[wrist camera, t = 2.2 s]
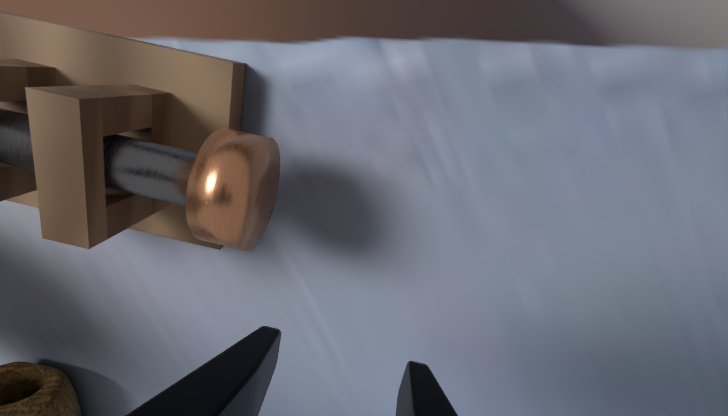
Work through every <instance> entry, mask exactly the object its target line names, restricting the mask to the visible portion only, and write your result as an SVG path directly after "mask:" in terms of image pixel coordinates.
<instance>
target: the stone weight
mask: <svg viewBox="0 0 728 416" xmlns="http://www.w3.org/2000/svg"><path fill="white" fill-rule="evenodd" d="M0 416H82V413H81V410H80V406H79V402H78V398H77V396H76V393H75V390H74V388H73V386H72V384H71V382H70V381H69V379H68V377H67V376H66V374H65V373H64V372H63V371H62V370H60V369H57V368H54V367H50V366H47V365H43V364H37V363H28V362H12V363H8V364H4V365H1V366H0Z"/></svg>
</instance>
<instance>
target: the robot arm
mask: <svg viewBox="0 0 728 416" xmlns="http://www.w3.org/2000/svg"><path fill="white" fill-rule="evenodd" d="M280 339H281V331H280V330H279V329H276V328H272V327H268V326H262V327H260V328H259V329H257V330H256V331H254V332H253V333H251V334H250V335H248V336H246V337H245V338H243V339H242V340H240V341H239V342H237V343H236V344H234V345H233V346H231V347H230V348H228V349H227V350H225V351H224V352H222V353H220V354H219V355H217V356H216V357H214V358H213V359H211V360H210V361H208V362H207V363H205V364H204V365H202V366H201V367H199V368H198V369H196V370H195V371H193V372H191V373H190V374H188V375H187V376H185V377H184V378H182V379H181V380H179V381H178V382H176V383H175V384H173V385H172V386H170V387H169V388H167V389H165V390H164V391H162V392H161V393H159V394H158V395H156V396H155V397H153V398H152V399H150V400H149V401H147V402H146V403H144V404H143V405H141V406H140V407H138V408H136V409H135V410H133V411H132V412H130V413H129V414H127V415H126V416H258V414H259V411H260V408H261V406H262V403H263V400H264V397H265V395H266V392H267V389H268V387H269V384H270V381H271V378H272V376H273V373H274V370H275V367H276V363H277V359H278V352H279V346H280ZM396 416H458V415H457V413H456V412H455V410H454V408H453V407H452V405H451V403H450V402H449V400H448V398H447V397H446V395H445V393H444V392H443V390H442V388H441V387H440V385H439V383H438V382H437V380H436V379H435V377H434V375H433V374H432V372H431V370H430V369H429V367H428V366H427V365H426V364H423V363H418V362H414V361H409V362H408V363H407V365H406V369H405V372H404V375H403V378H402V382H401V385H400V388H399V392H398V398H397V408H396Z"/></svg>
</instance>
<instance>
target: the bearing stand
mask: <svg viewBox="0 0 728 416" xmlns="http://www.w3.org/2000/svg"><path fill="white" fill-rule="evenodd" d="M245 70H246V64H245V63H240V62H236V61H231V60H226V59H222V58H217V57H212V56H208V55H203V54H198V53H194V52H189V51H185V50H180V49H175V48H171V47H166V46H161V45H157V44H152V43H147V42H143V41H138V40H133V39H129V38H124V37H120V36H115V35H110V34H105V33H100V32H96V31H92V30H87V29H82V28H78V27H73V26H68V25H64V24H59V23H54V22H50V21H45V20H41V19H36V18H31V17H26V16H22V15H17V14H13V13H8V12H3V11H0V108H2V109H6V110H11V111H15V112H20V113H24V114H28V117H29V126H30V134H31V143H32V151H33V160H34V168H35V171H32V170H28V169H24V168H19V167H15V166H10V165H6V164H2V163H0V201H3V200H8V201H12V202H16V203H20V204H25V205H29V206H33V207H38V208H39V211H40V220H41V229H42V237H43V238H44V239H48V240H53V241H57V242H61V243H65V244H70V245H74V246H78V247H83V248H87V249H90V248H92V247H94V246H96V245H97V244H99V243H101V242H103V241H105V240H107V239H108V238H110V237H112V236H114V235H116V234H118V233H120V232H121V231H123V230H125V229H127V228H129V229H133V230H137V231H142V232H146V233H150V234H154V235H159V236H163V237H167V238H172V239H176V240H180V241H185V242H189V243H193V244H198V245H202V246H206V247H211V248H215V249H219V250H220V249H221V248H222V247H223V246H224V245H220V244H215V243H211V242H207V241H202V240H199V239H197V238H195V237H194V236H193V235H192V233H191V231H190V229H189V227H188V224H187V219H186V205H181V204H177V203H172V202H168V201H164V200H159V199H155V198H151V197H146V196H142V195H137V194H133V193H129V192H124V191H120V190H116V189H111V188H107V187H105V175H104V155H103V137H104V136H109V135H114V134H118V135H123V136H127V137H131V138H136V139H140V140H145V141H149V142H154V143H158V144H163V145H167V146H172V147H176V148H181V149H185V150H190V151H194V152H199V150H200V148H201V146H202V145H203V143H204V142H205V140H206V139H207V138H208V137H209V136H210V135H211V134H212V133H213V132H214V131H216V130H218V129H220V128H229V129H233V130H238V131H241V119H242V107H243V94H244V82H245Z"/></svg>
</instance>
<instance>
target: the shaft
mask: <svg viewBox="0 0 728 416" xmlns="http://www.w3.org/2000/svg"><path fill="white" fill-rule="evenodd" d="M103 155H104V175H105V187H107V188H111V189H116V190H120V191H124V192H129V193H133V194H137V195H142V196H146V197H151V198H155V199H159V200H164V201H168V202H172V203H177V204H181V205H186V219H187V224H188V227H189V229H190V231H191V233H192V235H193V236H194V237H195V238H197V239H199V240H202V241H207V242H211V243H215V244H220V245H224V246H228V247H233V248H237V249H241V250H250V249H252V248H253V247H254V246H255V245H256V244H257V243H258V241H259V240H260V238H261V237H262V235H263V233H264V231H265V229H266V227H267V224H268V222H269V219H270V217H271V214H272V211H273V207H274V204H275V200H276V195H277V190H278V184H279V177H280V153H279V148H278V145H277V143H276V141H275V140H274V139H273V138H269V137H265V136H260V135H256V134H251V133H247V132H242V131H238V130H233V129H229V128H220V129H218V130H216V131H214V132H213V133H212V134H211V135H210V136H209V137H208V138H207V139H206V140H205V142H204V143H203V145H202V146H201V148H200V150H199V152H194V151H190V150H185V149H181V148H176V147H172V146H167V145H163V144H158V143H154V142H149V141H145V140H140V139H136V138H131V137H127V136H123V135H118V134H114V135H109V136H104V137H103ZM0 163H2V164H6V165H10V166H15V167H19V168H24V169H28V170H32V171H35V168H34V160H33V151H32V143H31V134H30V126H29V117H28V114H24V113H20V112H15V111H11V110H6V109H2V108H0Z"/></svg>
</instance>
